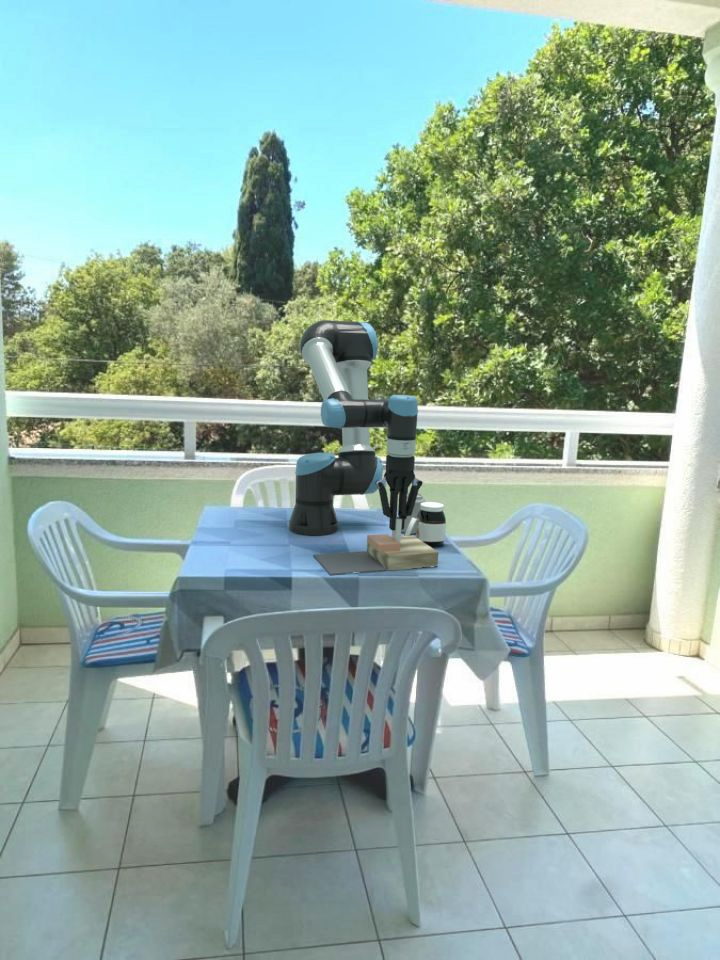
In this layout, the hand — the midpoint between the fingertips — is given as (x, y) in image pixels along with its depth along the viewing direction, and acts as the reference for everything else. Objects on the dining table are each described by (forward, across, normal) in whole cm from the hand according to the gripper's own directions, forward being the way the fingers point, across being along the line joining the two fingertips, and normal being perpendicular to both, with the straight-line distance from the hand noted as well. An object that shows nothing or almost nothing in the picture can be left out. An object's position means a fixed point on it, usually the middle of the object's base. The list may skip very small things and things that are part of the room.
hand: (396, 541), depth 181 cm
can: (+5, +16, +25) cm, 30 cm away
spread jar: (+5, +15, +14) cm, 21 cm away
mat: (+5, -13, 0) cm, 14 cm away
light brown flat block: (+1, -4, 0) cm, 4 cm away
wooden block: (+5, +2, 0) cm, 5 cm away
